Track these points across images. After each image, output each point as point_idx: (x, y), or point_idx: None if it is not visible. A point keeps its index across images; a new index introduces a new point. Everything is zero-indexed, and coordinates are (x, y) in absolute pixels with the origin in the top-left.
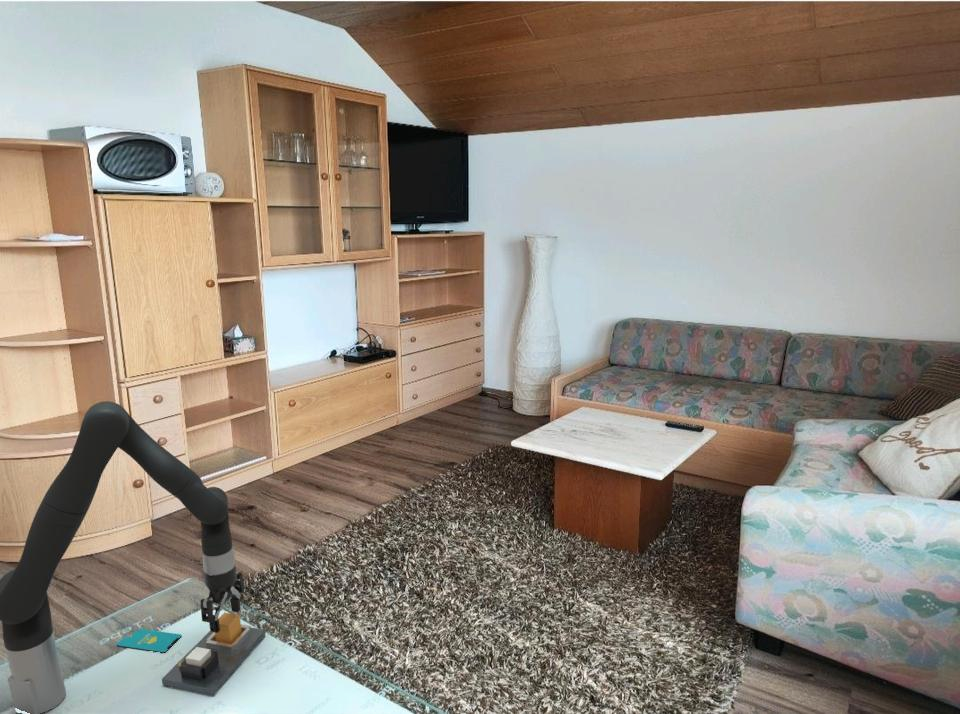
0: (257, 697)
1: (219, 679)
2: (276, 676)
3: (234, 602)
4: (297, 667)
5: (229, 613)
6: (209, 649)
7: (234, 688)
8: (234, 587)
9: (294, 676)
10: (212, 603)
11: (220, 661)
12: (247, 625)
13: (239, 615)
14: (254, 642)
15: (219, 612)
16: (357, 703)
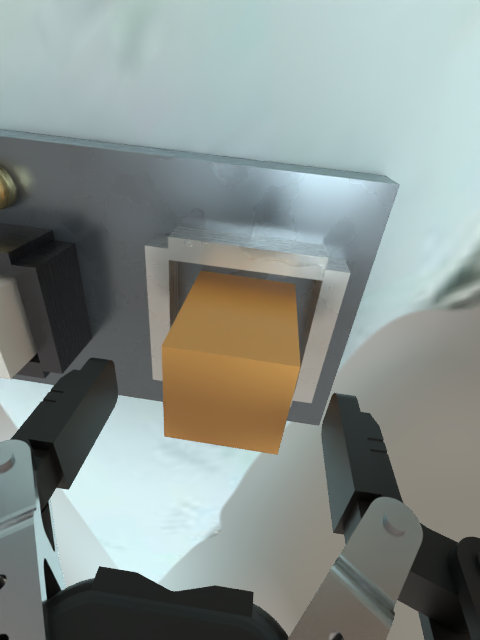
0: None
1: (22, 376)
2: (142, 469)
3: (338, 484)
4: (188, 498)
5: (288, 400)
6: (8, 374)
7: None
8: (467, 621)
9: (156, 498)
10: (17, 595)
11: (99, 342)
12: (315, 389)
13: (275, 452)
14: None
15: (55, 548)
16: None
